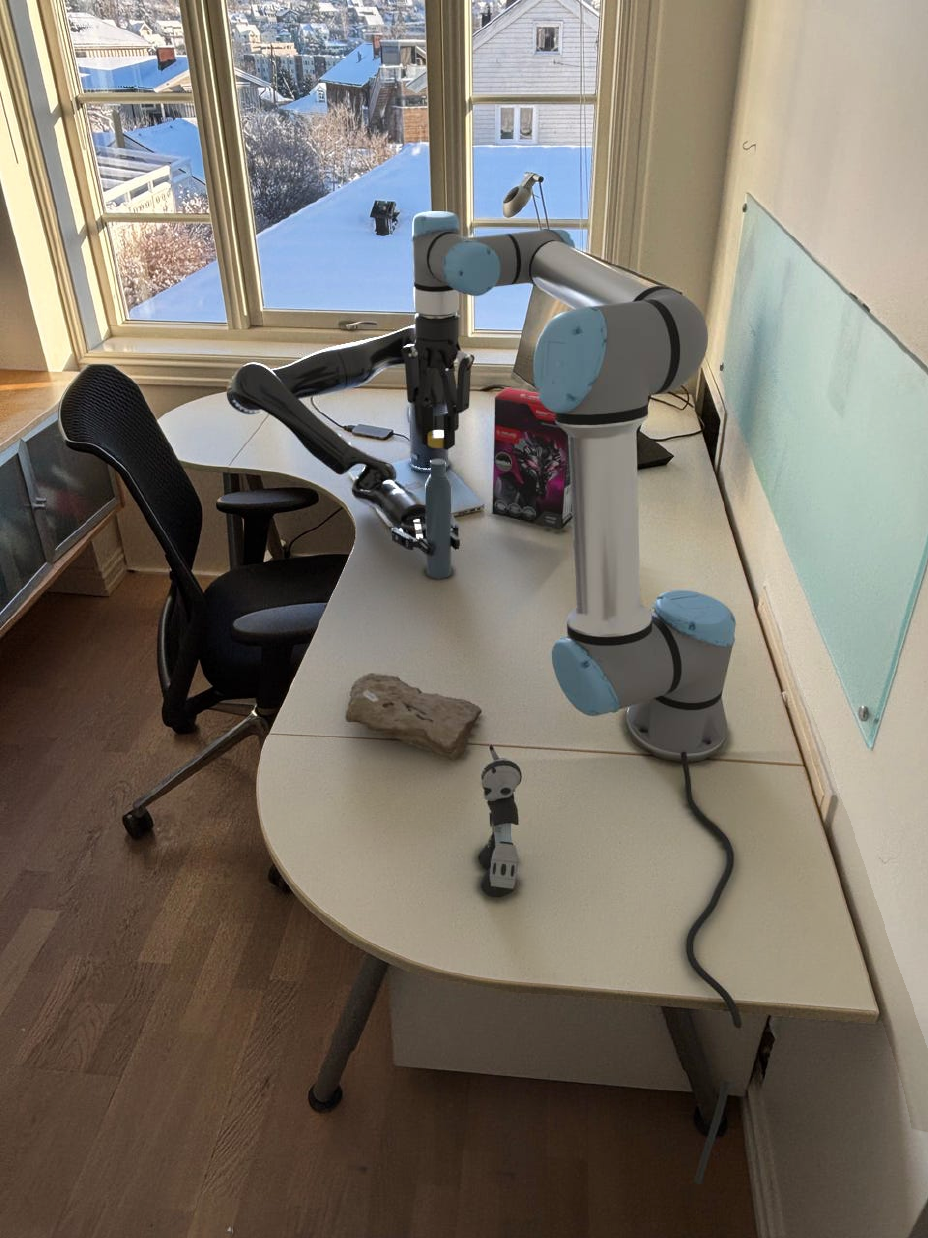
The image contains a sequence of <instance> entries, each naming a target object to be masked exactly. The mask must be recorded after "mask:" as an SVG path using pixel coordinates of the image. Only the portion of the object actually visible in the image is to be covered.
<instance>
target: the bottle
mask: <svg viewBox="0 0 928 1238" xmlns="http://www.w3.org/2000/svg"><path fill="white" fill-rule="evenodd" d="M445 465H446V463H445V460H443V459H433V460H431V462H430V466H431V473H429V476H428V477H427V479H426V481H425V484H424V490H425V491H424V499H425V500H424V502H425V503H424V504H425V509H426V540H427V541H428V542H430V543H431V544H432V545H433V547H434V556H431V557H430V556H429V555H426V554H425V559H426V561H425V563H426V575H427V576H428V577H430V578H433V579H445V578H448V577H450V575H451V574H452V546H451V514H452V484H451V481H450V479H449V477H448V476H447V474H446V469H445Z"/></svg>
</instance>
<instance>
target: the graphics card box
mask: <svg viewBox="0 0 928 1238" xmlns="http://www.w3.org/2000/svg"><path fill="white" fill-rule="evenodd" d="M493 429H494V430H493V470H492V471H493V472H492V507H491V508H492V509H491V512H492V513H491V514H492V515H495V516H499V517H504V518H508V519H513V520H516V521H521V522H524V523H529V524H534V525H536V526H540V527H545V528H549V529H553V530H558V531H562V530H563V529H564V528H565V527H566V526H567V525H568V524H569V523H570V522H571V521H573V520H572V500H571V481H570V462H569V442H568V434H567V433H566V432H565V431H564V430H563V429H562V428H561V427H560V426H559V425H557V424H556V421H555V412H552V411H550V410H548V409H547V408H546V407H545V406H544V405H543V404H542V402H541V401H540V399H539V391H538V392H537V391H532V390H528V389H521V388H517V387H512V386H507V387H505V388H503V389H502V390H500V392H498V393H497V394H496V396H494V427H493Z"/></svg>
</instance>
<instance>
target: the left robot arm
mask: <svg viewBox="0 0 928 1238" xmlns="http://www.w3.org/2000/svg"><path fill="white" fill-rule="evenodd" d="M415 341H416V335H415V324H413V325H410V326H407V327H404V328H402V329H399V330H397V331H393V332H391V333H389V334H385V335H382V336H378V337H373V338H368V339H365V340H359V341H356V342H355V341H354V342H349V343H345V344H344V343H343V344H341V345H336V346H332V347H327V348H325V349H322V350H319V351H317V352H314V353H312V354H309V355H307V356H305V357H303V358H301V359H299V360H296V361H294V362H292V363H290V364H288V365H284V366H281V367H278V368H271V369H270V368H269V367H267V366H266V365H264V364H261V363H258V362H249V363H246V364H244V365H242V366H241V367H240V368H238V370H236V372H235V374H234V375H233V376H232V377H231V379H230V380H229V382H228V383H227V387H226V399H227V402H228V404H229V405H230V407H231V408H232V409H234V410H235V411H236V412H238V413H241V414H243V415H249V416H255V415H259V414H262V413H264V412H265V413H266V414H268V415H270V416H272V417H273V418H275V419H276V420H278V421H279V422H280V423H281V424H283V425H284V426H285V427H286V428H287V429H288V430H289V431H290V432H291V433H292V434H293V435H294V436H295V438H296V439H297V440H298V441H299V442H300V444H301V445H302V446H303V447H304V448H305V450H307V452H309V453H310V455H312V456H313V457H314V458H315V459H317V460H318V461H319V462H320V463H322V464H323V465H324V466H326V467H327V468H328V469H330V470H331V471H332V472H334V473H335V474H337V475H340V476H342V475H345V474H346V473H348V472H349V471H350V470H352V468H354V467H355V466H357V465H364V467H363V468H362V469H361V470H360V472H359V473H358V475H357V476H356V477H355V478H354V480H352V483H351V486H350V491H351V494H352V496H353V498H355V500H357V501H358V502H360V503H361V504H364V505H367V506H368V507H371V508H376V509H378V511H380V512H381V513H382V514H383V515H384V516H385V518H386V520H388V522H389V523H390V524H391V525H392V526H393V527H392V528H391V529H390V530H391V541H392V542H394V543H395V544H397V545H398V546H401V547H402V548H403V549H406V550H407V551H413V550H414V549H415V548H416V549H417V550H420V551H421V552H422V553H423V554H424V555H425V556H426V555H429V556H430V557H431V556H434V547H433V545H432V544H431V543H430V542H428V541H427V540H426V509H425V503H424V502H423V501H422V500H421V499H420V498H419V497H418V496H416V494H414V493H413V492H411V491H409V490H407V489H406V488H405V487H404V486H403V485H402V484H401V483H400V482H398V481H397V477H398V476H397V475H398V474H397V471H396V469H395V467H394V466H393V465H392V464H391V462H389V461H387V460H385V459H382V458H380V457H378V456H375V455H372V454H370V453H368V452H366V451H364V450H361V449H360V448H358V446H357V447H356V446H355V445H353V444H352V443H351V442H350V441H348V439H346V438H345V437H343V436H342V435H341V434H339V433H338V432H337V431H336V430H334V429H333V428H332V427H331V426H329V425H328V424H326V422H324V421H323V420H322V419H321V418H319V416H317V415H316V414H315V413H314V412H313V411H311V410H310V408H308V407H307V406H306V405H305V403H304V402H302V401H301V400H302V399H309V398H313V397H318V396H319V397H320V396H323V395H327V394H332V393H333V394H334V393H339V392H343V391H346V390H349V389H353V388H357V387H360V386H362V385H365V384H366V383H368V382H370V381H371V380H372V379H373V378H375V377H376V376H377V375H378V374H380V373H381V372H383V371H384V370H387V369H389V368H393V367H399V366H403V365H404V366H405V360H404V357H403V355H402V352H401V349H402V348H403V347H405V346H407V345H409V344H414V343H415ZM417 357H418V367H419V383H420V376H421V371H420V367H421V361H422V360H421V358H420V356H419V354H418V355H417ZM429 400H430V401H431V402H430V403H429V404H428V405H432V406H433V430H444V414H445V413H446V412H447V406H446V401H445V395H444V389H443V384H442V378H441V376H440V375H439V370H438V369H436V368H435V370H434V374H433V380H432V387H431V393H430V399H429ZM406 415H407V420H408V422H409V456H410V460H409V466H410V468H411V469H412V470H413V471H416V472H420V473H424V474H425V473H426V474H431V470H423V469H418V468H415V467H413V466H412V465H411V464H410V462H411V463H412V464H413V465H414V466H417V467H420V468H427V469H428V468H431V466H430V462H431V460H433V459H443V460H445V463H446V465H445V470H446V469H448V468H449V466H450V460H449V449H448V450H446V449H444V448H433V447H430V446H429V445H428V444H426V445H424V444H422V425H420V424H419V423H418V408H417V406H416V405H415V404H414V403H409V402H408V403H407V407H406ZM459 529H460V525H459V524H458V522H457V520H456V518H455V516H454V515H453V514H452V513H451V548H452V549H453V550H455V551H457V550H459V549H460V547H461V539H460V535H459V533H460V532H459Z"/></svg>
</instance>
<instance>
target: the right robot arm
mask: <svg viewBox="0 0 928 1238" xmlns="http://www.w3.org/2000/svg"><path fill="white" fill-rule="evenodd" d="M460 227H461V226H460V219H459V216H458V215H457V214H456V213H454V212H451V211H441V210H439V211H438V210H436V211H435V210H434V211H433V210H432V211H431V210H430V211H422V212H419V213H417V214H416V215H414V217H413V219H412V233H411V234H412V235H411V242H412V243H411V244H412V265H413V267H412V268H413V269H412V271H413V310H414V311H415V315H414V325H415V335H416V341H415V343H414V344H409V345H407V346H405V347H403V348H402V349H401V352H402V355H403V357H404V360H405V364H404V369H405V371H404V372H405V385H406V398H407V402H408V403H414V404H415V405H416V406H417V408H418V423H419V424H420V425H422V444H424V445H426V444H428V440H427V436H428V433H429V432H430V431H433V406H432V405H428V404H429V403H430V402H431V401H430V400H429V399H430V393H431V387H432V380H433V374H434V370H435V368H436V369H438V370H439V375H440V376H441V378H442V384H443V389H444V395H445V401H446V406H447V412H446V413H445V414H444V449H446V450H448V451H449V450H450V449H451V448H453V447H454V446H455V445H456V431H458V430H459V427H460V414H461V413H464V412H466V411H467V410H468V409H469V408H470V397H471V396H470V395H471V377H472V376H471V374H472V373H471V372H472V366H473V364H474V361H475V356H474V354H472V353H471V354H469V355H468V354H467V353H465V352H464V351H462V349H461V348H462V347H461V346H460V343H459V338H460V315H459V313H458V312H459V311H460V293H461V294H463V295H468V296H471V297H480V296H483V295H485V294H487V293H488V292H489V291H491V290H492V289H493V288H498V287H506V286H512V285H513V286H514V285H523V284H531V285H533V286H534V287H536V288H538V289H539V290H541V291H543V292H545V294H547V295H549V296H551V297H552V298H554V299H556V300H557V301H559V302H561V303H562V304H564V305H566V306H567V307H569V308H570V309H572V310H568V311H567V310H566V311H563V312H560V313H558V314H556V315H554V316H553V317H551V319H550V320H549V321H548V322H547V323H546V324H545V326H544V328H543V330H542V331H541V333H540V334H539V337H538V340H537V343H536V346H535V349H534V355H533V356H534V357H533V369H532V370H533V381H534V386H535V390H536V391H538V393H539V399H540V401H541V402H542V404H543V405H544V406H545V407H546V408H547V409H548V410H550V411H552V412H555V421H556V424H557V425H559V426H560V427H561V428H562V429H563V430H564V431H565V432H566V433H567V434H568V442H569V462H570V481H571V500H572V520H571V521H572V537H573V539H572V540H573V556H574V557H573V558H574V577H575V593H576V594H575V595H576V607H575V608H574V609H573V610H572V611H570V613H569V614H568V615H567V617H566V637H561V638H559V639H558V640H557V641H555V643H554V644H553V646H552V649H551V664H552V668H553V672H554V675H555V678H556V680H557V683H558V685H559V687H560V689H561V691H562V692H563V694H564V696H565V697H566V699H567V700H568V701H569V703H570V704H571V705H572V706H573V707H574V708H575V709H576V710H577V711H579V712H580V713H582V714H584V715H586V716H589V717H598V716H603V715H606V714H609V713H613V714H615V713H618V712H619V711H620V710H622V709H627V711H626V719H625V728H626V732H627V734H628V736H629V738H630V739H631V741H632V742H634V744H636V745H637V746H638V747H639V748H640V749H641V750H643V751H645V752H646V753H648V754H650V755H651V756H654V757H656V758H659V759H662V760H666V761H670V762H675V763H681V764H682V769H683V777H684V791H685V792H684V793H685V797H686V801H687V803H688V806H689V807H690V809H691V811H692V812H693V814H694V815H695V816H696V818H698V819H699V820H700V821H701V822H702V823H703V824H704V825H706V826H707V827H708V829H710V830H711V831H712V832H713V833H714V834H715V835H717V837H718V838H719V839H720V840H721V842H722V844H723V845H724V848H725V850H726V865H725V869H724V871H723V873H722V875H721V878H720V880H719V881H718V883H717V885H716V887H715V889H714V891H713V894H712V896H711V898H710V900H709V903H708V904H707V905H706V907H705V909H704V910H703V911H702V912H701V914H700V915H699V916H698V917H697V919H695V921H694V922H693V924H692V925H691V927H690V928H689V930H688V933H687V935H686V939H685V941H686V942H685V951H686V956H687V961H688V962H689V964H690V966H691V969H693V970H694V972H695V973H696V974H697V975H698V976H699V977H700V978H701V979H702V980H703V981H704V982H705V983H706V984H707V985H709V986H710V988H712V989H713V990H714V991H715V992H716V993H717V994H718V995H719V996H720V997H721V998H722V1000H723V1001H724V1002H725V1004H726V1006H727V1008H728V1010H729V1012H730V1015H731V1018H732V1023H733V1025H734V1027H735V1028H736V1029H741V1028H742V1026H743V1025H742V1018H741V1015H740V1012H739V1009H738V1006H737V1004H736V1003H735V1001H734V999H733V998H732V996H731V995H730V994H729V992H728V991H727V990H726V989H725V987H723V986H722V985H721V983H719V982H718V981H717V980H716V979H715V978H714V977H712V976H711V975H710V974H709V973H708V972H707V971H706V970H705V969H704V968H703V967H702V966H701V965H700V963H699V961H698V960H697V958H696V956H695V951H694V942H695V938H696V936H697V934H698V931H699V930H700V928H702V925H704V923H705V922H706V921H707V919H709V917H710V916H711V914H712V913H713V912H714V910H715V908H716V906H717V905H718V902H719V901H720V898H721V895H722V894H723V891H724V890H725V887H726V886H727V883H728V881H729V879H730V877H731V875H732V873H733V869H734V865H735V855H734V850H733V845H732V844H731V841H730V839H729V838H728V836H727V835H726V834H725V833H724V832H723V830H722V829H721V828H720V827H718V825H716V824H715V823H714V822H713V821H711V819H710V818H708V817H707V815H705V814H704V813H703V812H702V810H700V808H699V807H698V806H697V804H696V802H695V800H694V797H693V793H692V778H691V771H690V766H689V763H694V762H700V761H703V760H706V759H709V758H711V757H714V755H716V754H718V752H720V751H721V750H722V748H723V747H724V744H725V743H726V740H727V739H726V738H727V734H728V721H727V716H726V712H725V708H724V707H725V706H724V701H723V692H724V686H725V682H726V678H727V674H728V669H729V664H730V661H731V655H732V652H733V647H734V644H735V642H736V641H735V640H736V637H735V632H736V627H737V626H736V625H737V624H736V617H735V615H734V614H733V612H732V610H731V609H730V608H729V607H728V606H727V605H726V604H724V603H723V602H722V601H720V600H719V599H717V598H715V597H712V596H710V595H708V594H705V593H702V592H698V591H695V590H688V589H673V590H668V591H665V592H662V593H660V594H659V595H658V596H657V597H656V600H655V602H654V604H653V607H652V608H653V612H650V610H649V609H647V608H646V607H645V606H644V605H642V604H641V576H640V574H641V571H640V568H641V567H640V566H641V565H640V532H639V530H640V529H639V526H640V525H639V489H638V488H639V487H638V486H639V485H638V446H637V445H638V443H637V441H638V440H637V430H638V429H639V428H640V426H641V425H642V424H643V423H644V422H645V421H646V419H647V418H648V417H649V397H650V396H656V395H661V394H665V393H668V392H671V391H674V390H676V389H678V388H679V387H682V386H683V385H684V384H686V383H687V382H689V380H690V379H691V378H693V376H694V375H695V374H696V373H697V372H698V370H699V369H700V367H701V365H702V363H703V361H704V359H705V357H706V354H707V349H708V344H709V331H708V327H707V322H706V319H705V318H704V316H703V314H702V311H701V310H700V309H699V308H698V306H697V305H696V304H695V303H694V302H693V301H692V300H690V299H689V298H688V297H686V296H685V295H683V294H681V293H679V292H677V291H675V290H674V289H671V288H670V287H667V286H665V285H652V286H647V285H645V284H644V283H642V282H640V281H638V280H636V279H634V278H633V277H631V276H628V275H626V274H624V273H622V272H621V271H619V270H617V269H614V268H613V267H610V266H609V265H607V264H605V263H603V262H602V261H599V260H597V259H596V258H593V257H591V256H590V255H588V254H586V253H584V252H582V251H580V250H578V249H576V245H575V241H574V240H573V239H572V238H571V234H570V233H569V232H568V231H566V230H564V229H559V228H558V229H551V228H543V229H539V230H529V231H520V232H512V233H510V232H509V233H501V234H490V235H480V236H479V235H478V236H465V235H461V228H460ZM418 354H419V356H420V358H421V360H422V361H421V367H420V371H421V376H420V383H419V367H418V357H417V355H418ZM456 360H457V366H458V369H457V381H456V375H455V372H456V365H455V361H456ZM730 1085H731V1081H727V1080H725V1079H723V1080H722V1081H721V1086H720V1089H719V1090H720V1091H719V1094H718V1099H717V1103H716V1107H715V1110H714V1114H713V1118H712V1121H711V1124H710V1127H709V1131H708V1134H707V1137H706V1141H705V1143H704V1147H703V1150H702V1153H701V1156H700V1159H699V1163H698V1166H697V1169H696V1173H695V1177H694V1183H695V1184H697V1185H700V1184H702V1182H703V1181H702V1180H703V1177H704V1174H705V1170H706V1167H707V1163H708V1160H709V1157H710V1154H711V1151H712V1148H713V1145H714V1143H715V1140H716V1136H717V1133H718V1130H719V1127H720V1124H721V1121H722V1117H723V1114H724V1110H725V1106H726V1103H727V1098H728V1094H729V1090H730Z"/></svg>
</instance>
